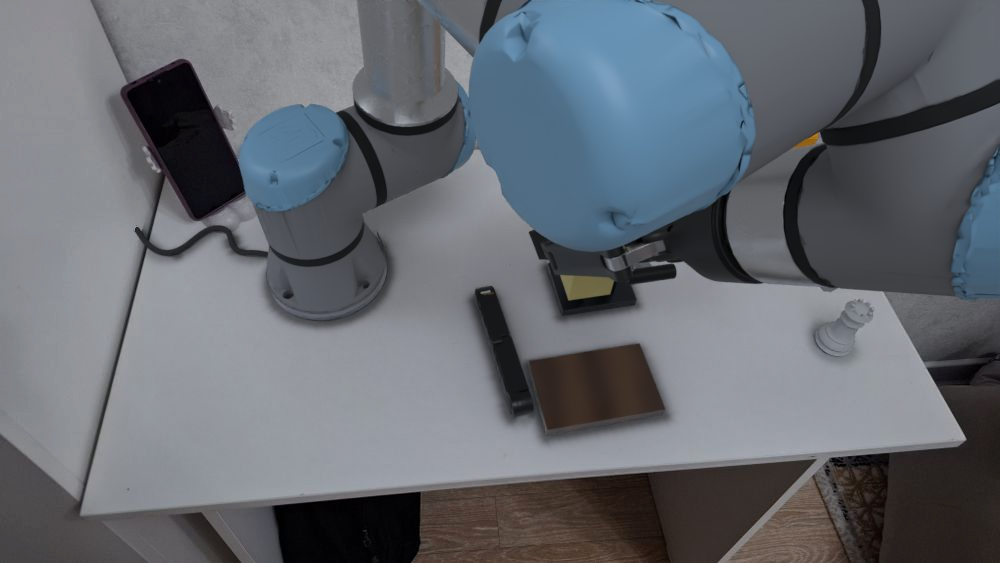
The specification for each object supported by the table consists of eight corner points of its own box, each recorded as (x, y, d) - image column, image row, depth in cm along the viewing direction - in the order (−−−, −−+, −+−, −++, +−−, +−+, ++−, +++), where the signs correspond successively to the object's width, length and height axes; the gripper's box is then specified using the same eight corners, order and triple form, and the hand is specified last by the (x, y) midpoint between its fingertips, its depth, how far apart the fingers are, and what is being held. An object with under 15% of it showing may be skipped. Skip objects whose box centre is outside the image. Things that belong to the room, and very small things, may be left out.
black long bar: (533, 417, 71) (535, 405, 69) (512, 422, 70) (513, 411, 68) (492, 295, 81) (493, 281, 79) (473, 299, 81) (473, 285, 78)
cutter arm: (675, 284, 62) (678, 263, 61) (628, 291, 61) (630, 270, 60) (620, 227, 75) (621, 209, 74) (581, 233, 75) (581, 214, 74)
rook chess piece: (812, 350, 78) (842, 315, 72) (814, 323, 80) (844, 286, 74) (848, 363, 77) (882, 328, 71) (850, 335, 80) (883, 299, 73)
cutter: (635, 305, 81) (660, 235, 70) (561, 316, 80) (576, 246, 69) (616, 258, 86) (637, 186, 75) (546, 268, 84) (558, 195, 73)
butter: (568, 300, 56) (586, 217, 47) (557, 267, 59) (572, 181, 50) (610, 294, 57) (635, 210, 48) (597, 261, 59) (619, 175, 50)
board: (545, 435, 70) (547, 430, 68) (527, 366, 75) (528, 360, 74) (662, 415, 72) (665, 409, 71) (636, 349, 77) (639, 343, 76)
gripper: (672, 349, 33) (495, 311, 54) (878, 219, 40) (649, 230, 61) (627, 220, 32) (463, 232, 53) (849, 107, 38) (624, 158, 59)
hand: (563, 231), depth 57 cm, fingers closed on butter, 5 cm apart
